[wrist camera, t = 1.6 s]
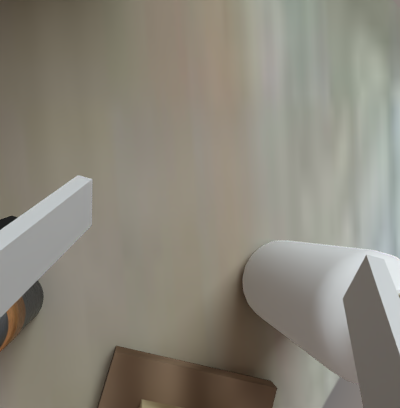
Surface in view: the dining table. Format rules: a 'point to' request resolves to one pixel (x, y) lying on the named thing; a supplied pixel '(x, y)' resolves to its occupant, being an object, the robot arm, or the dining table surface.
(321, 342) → the potion bottle
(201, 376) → the socket
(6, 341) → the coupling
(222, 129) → the dining table surface
